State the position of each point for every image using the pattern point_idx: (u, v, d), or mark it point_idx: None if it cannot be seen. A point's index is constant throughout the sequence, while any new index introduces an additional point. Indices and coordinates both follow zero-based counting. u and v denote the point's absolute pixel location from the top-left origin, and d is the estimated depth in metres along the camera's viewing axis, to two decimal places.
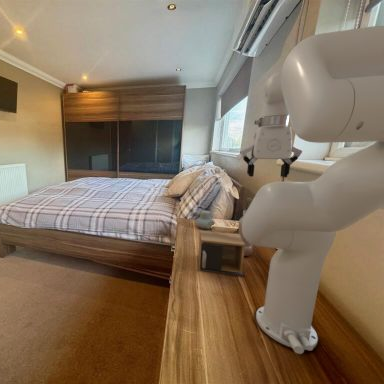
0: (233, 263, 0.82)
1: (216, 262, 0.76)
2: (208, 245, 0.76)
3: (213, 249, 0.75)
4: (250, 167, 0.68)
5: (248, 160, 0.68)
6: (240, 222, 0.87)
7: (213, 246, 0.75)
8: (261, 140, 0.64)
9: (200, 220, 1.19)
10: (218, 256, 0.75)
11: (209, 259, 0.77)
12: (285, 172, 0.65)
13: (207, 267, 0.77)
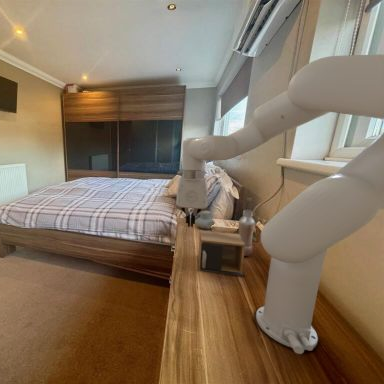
0: (233, 263, 0.82)
1: (216, 262, 0.76)
2: (208, 245, 0.76)
3: (213, 249, 0.75)
4: (187, 217, 0.72)
5: None
6: (240, 222, 0.87)
7: (213, 246, 0.75)
8: (181, 191, 0.69)
9: (200, 220, 1.19)
10: (218, 256, 0.75)
11: (209, 259, 0.77)
12: (191, 222, 0.71)
13: (207, 267, 0.77)
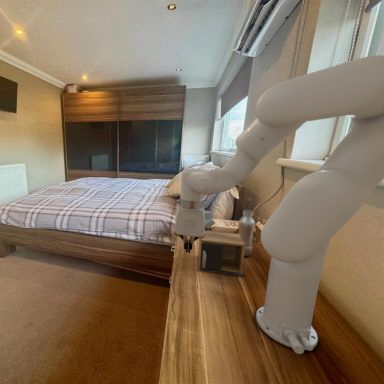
0: (233, 263, 0.82)
1: (216, 262, 0.76)
2: (208, 245, 0.76)
3: (213, 249, 0.75)
4: (185, 244, 0.74)
5: None
6: (240, 222, 0.87)
7: (213, 246, 0.75)
8: (179, 219, 0.71)
9: None
10: (218, 256, 0.75)
11: (209, 259, 0.77)
12: (188, 249, 0.74)
13: (207, 267, 0.77)
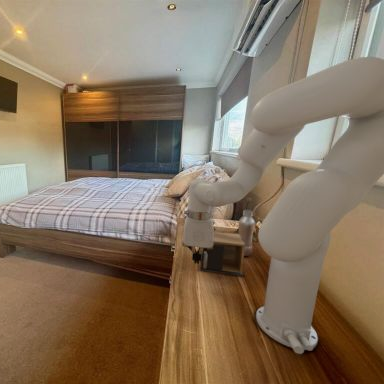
0: (233, 263, 0.82)
1: (217, 262, 0.76)
2: None
3: (214, 249, 0.75)
4: (193, 255, 0.74)
5: None
6: (240, 222, 0.87)
7: (214, 247, 0.75)
8: (188, 230, 0.71)
9: None
10: (219, 256, 0.75)
11: (210, 259, 0.76)
12: (197, 260, 0.73)
13: (208, 267, 0.77)
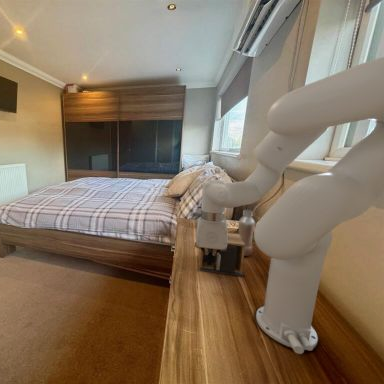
0: None
1: (230, 264, 0.75)
2: None
3: (227, 250, 0.74)
4: (206, 256, 0.73)
5: None
6: (240, 222, 0.87)
7: (227, 248, 0.74)
8: (201, 232, 0.70)
9: None
10: (232, 258, 0.74)
11: (223, 261, 0.75)
12: (210, 261, 0.72)
13: (221, 269, 0.76)
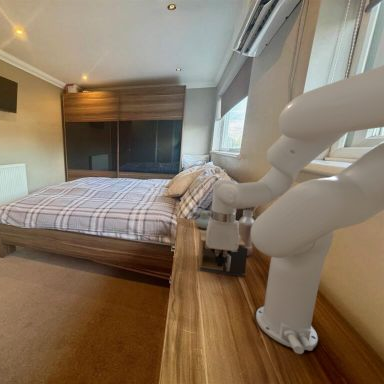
0: None
1: (240, 265, 0.74)
2: None
3: (237, 251, 0.73)
4: (216, 257, 0.72)
5: None
6: (240, 222, 0.87)
7: (237, 249, 0.73)
8: (211, 232, 0.69)
9: (200, 220, 1.19)
10: (242, 259, 0.73)
11: (233, 262, 0.74)
12: (220, 263, 0.71)
13: (230, 270, 0.75)
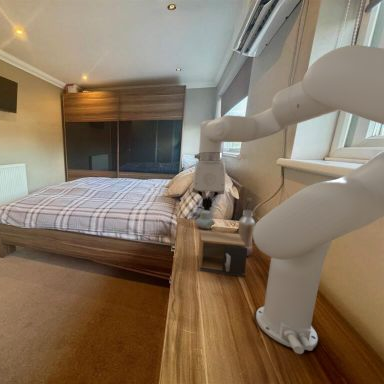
0: None
1: (240, 265, 0.74)
2: (231, 247, 0.74)
3: (236, 251, 0.73)
4: (204, 201, 0.72)
5: (201, 196, 0.72)
6: (240, 222, 0.87)
7: (236, 249, 0.73)
8: (198, 174, 0.69)
9: (200, 220, 1.19)
10: (242, 259, 0.73)
11: (232, 262, 0.74)
12: (207, 206, 0.71)
13: (230, 270, 0.75)
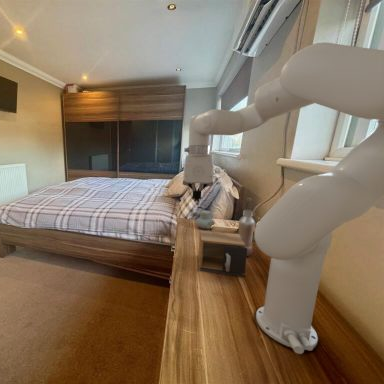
0: None
1: (240, 265, 0.74)
2: (231, 247, 0.74)
3: (236, 251, 0.73)
4: (194, 193, 0.75)
5: None
6: (240, 222, 0.87)
7: (236, 249, 0.73)
8: (188, 166, 0.72)
9: (200, 220, 1.19)
10: (242, 259, 0.73)
11: (232, 262, 0.74)
12: (197, 197, 0.74)
13: (230, 270, 0.75)
